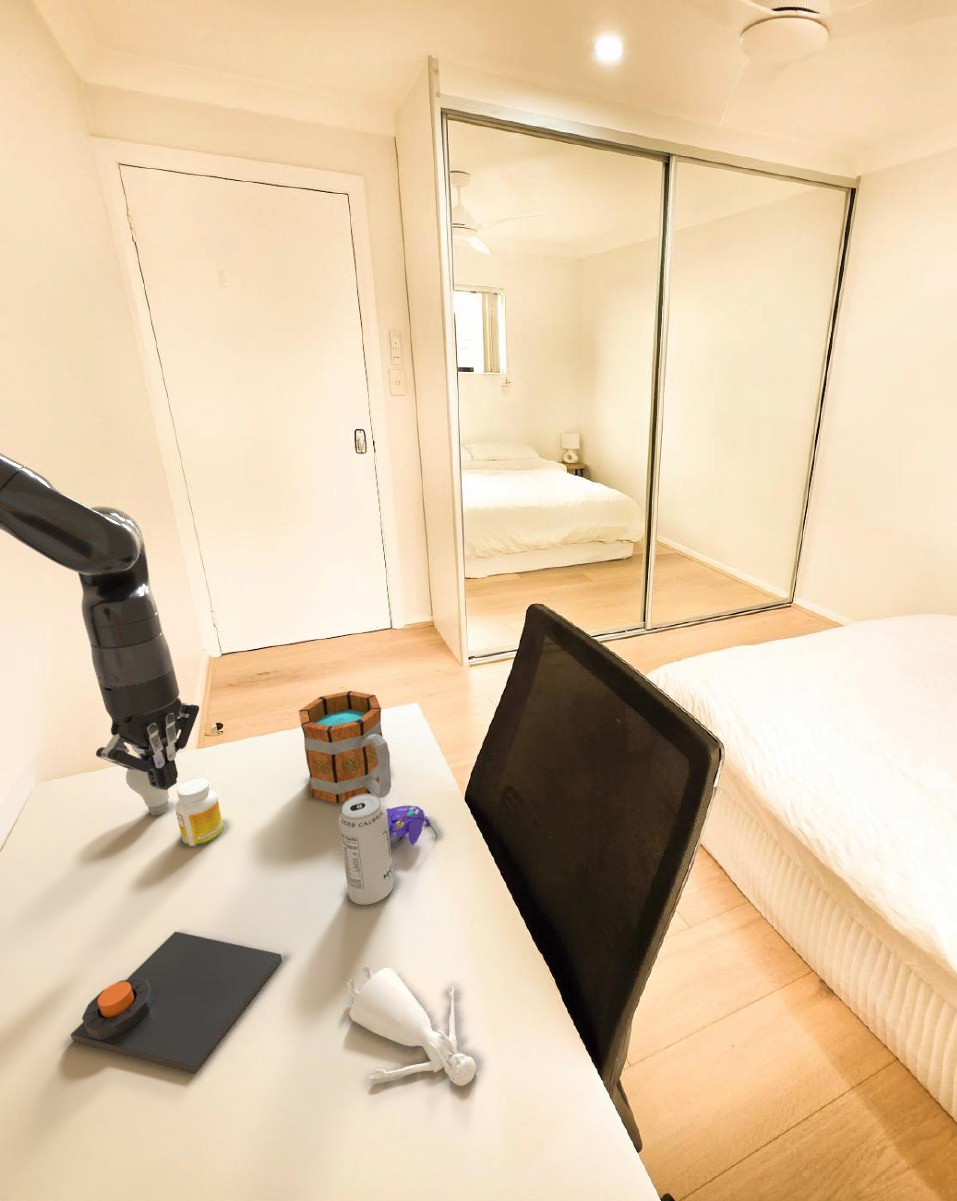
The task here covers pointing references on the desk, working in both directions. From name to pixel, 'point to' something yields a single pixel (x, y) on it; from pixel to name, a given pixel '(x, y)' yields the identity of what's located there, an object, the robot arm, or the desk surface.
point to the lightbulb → (148, 792)
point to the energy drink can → (366, 849)
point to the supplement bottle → (198, 813)
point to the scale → (181, 1002)
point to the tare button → (115, 999)
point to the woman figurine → (407, 1025)
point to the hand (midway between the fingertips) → (165, 786)
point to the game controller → (406, 822)
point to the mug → (345, 746)
